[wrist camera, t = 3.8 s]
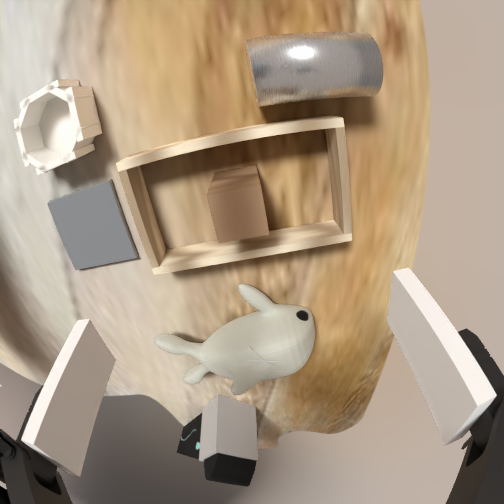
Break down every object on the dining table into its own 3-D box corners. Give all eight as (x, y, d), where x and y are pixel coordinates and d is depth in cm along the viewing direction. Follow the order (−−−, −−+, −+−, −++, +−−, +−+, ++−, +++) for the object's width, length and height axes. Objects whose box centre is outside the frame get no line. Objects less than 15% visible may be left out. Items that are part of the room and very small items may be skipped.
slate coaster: (77, 267, 32) (75, 270, 31) (49, 201, 27) (47, 203, 27) (138, 255, 31) (136, 258, 31) (111, 179, 27) (109, 181, 26)
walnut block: (223, 211, 29) (218, 243, 23) (214, 173, 27) (206, 195, 21) (263, 203, 29) (269, 234, 23) (256, 165, 27) (260, 185, 21)
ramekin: (49, 170, 26) (28, 180, 22) (32, 104, 22) (10, 108, 18) (107, 146, 25) (88, 154, 22) (90, 73, 21) (69, 71, 18)
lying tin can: (256, 106, 24) (260, 106, 19) (244, 47, 22) (244, 31, 16) (359, 96, 24) (387, 96, 18) (349, 39, 21) (375, 26, 16)
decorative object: (175, 428, 51) (168, 491, 38) (218, 393, 44) (215, 475, 31) (210, 439, 54) (207, 499, 40) (258, 406, 47) (263, 482, 34)
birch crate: (162, 257, 31) (154, 274, 28) (129, 155, 26) (115, 163, 23) (341, 225, 30) (352, 240, 27) (331, 115, 25) (343, 117, 22)
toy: (319, 357, 41) (333, 414, 32) (198, 380, 43) (193, 435, 34) (301, 262, 33) (321, 323, 24) (147, 298, 34) (125, 359, 26)
